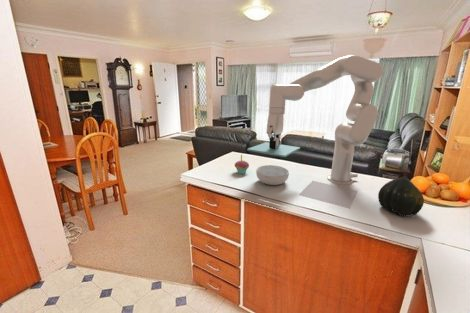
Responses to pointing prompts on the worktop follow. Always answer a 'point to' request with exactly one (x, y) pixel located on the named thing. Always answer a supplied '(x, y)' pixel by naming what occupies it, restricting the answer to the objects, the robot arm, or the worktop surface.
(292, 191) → the worktop surface
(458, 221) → the worktop surface
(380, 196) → the squash
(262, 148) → the lid
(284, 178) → the cereal bowl
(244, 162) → the cupcake
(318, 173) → the worktop surface
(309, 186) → the mat
